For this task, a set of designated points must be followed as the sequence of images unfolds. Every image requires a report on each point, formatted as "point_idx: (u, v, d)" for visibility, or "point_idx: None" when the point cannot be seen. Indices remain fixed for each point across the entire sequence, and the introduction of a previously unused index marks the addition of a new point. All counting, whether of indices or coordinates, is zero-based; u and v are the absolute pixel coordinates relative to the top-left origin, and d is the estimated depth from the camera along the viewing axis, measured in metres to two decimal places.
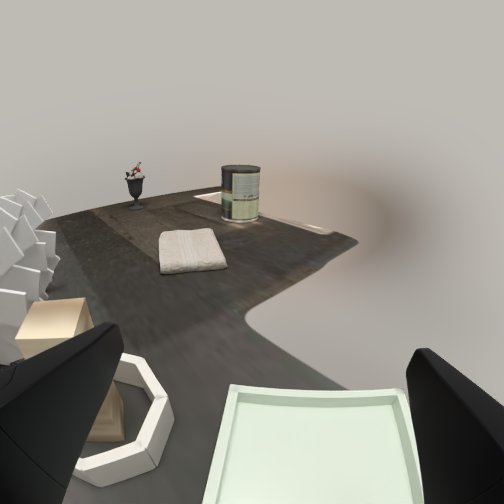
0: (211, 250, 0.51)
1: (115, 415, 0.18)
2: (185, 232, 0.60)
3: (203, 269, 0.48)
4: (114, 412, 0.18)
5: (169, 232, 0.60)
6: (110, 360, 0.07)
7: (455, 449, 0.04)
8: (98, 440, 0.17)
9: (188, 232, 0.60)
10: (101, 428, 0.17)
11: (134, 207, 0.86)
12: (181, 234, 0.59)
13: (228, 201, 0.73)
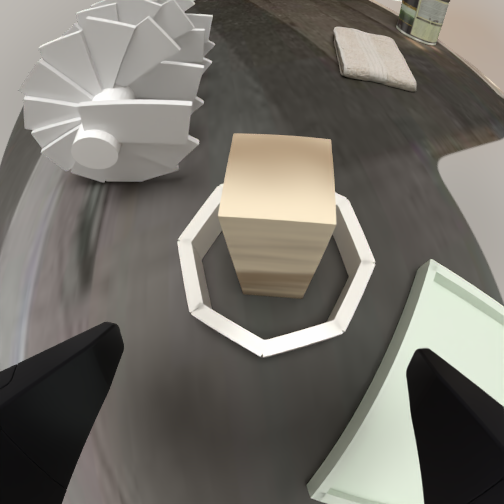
0: (401, 67, 0.31)
1: None
2: (364, 34, 0.36)
3: (391, 85, 0.31)
4: None
5: (344, 29, 0.36)
6: (110, 360, 0.07)
7: (455, 449, 0.04)
8: (271, 295, 0.21)
9: (367, 35, 0.36)
10: (285, 289, 0.20)
11: None
12: (360, 35, 0.35)
13: (410, 16, 0.36)
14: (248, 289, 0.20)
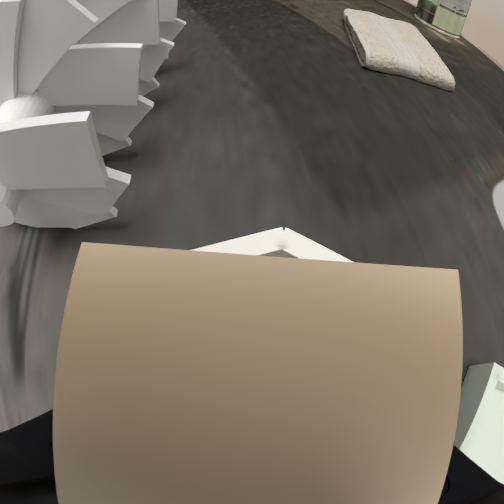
0: (434, 58, 0.21)
1: None
2: (380, 18, 0.26)
3: (425, 81, 0.22)
4: None
5: (357, 11, 0.27)
6: None
7: None
8: None
9: (385, 19, 0.26)
10: None
11: None
12: (376, 19, 0.26)
13: (432, 3, 0.26)
14: None
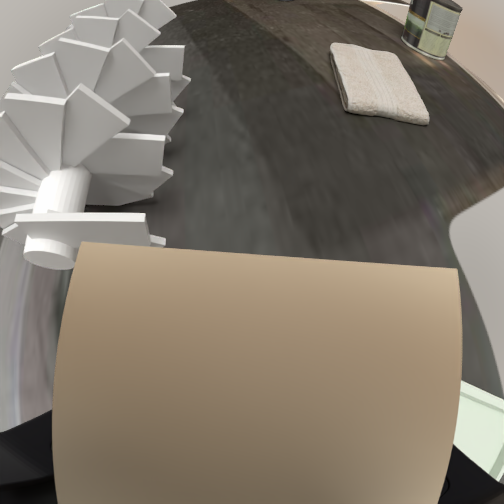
0: (411, 95, 0.28)
1: None
2: (364, 50, 0.33)
3: (401, 119, 0.28)
4: None
5: (342, 45, 0.33)
6: None
7: None
8: None
9: (368, 52, 0.33)
10: None
11: None
12: (360, 52, 0.32)
13: (418, 27, 0.33)
14: None
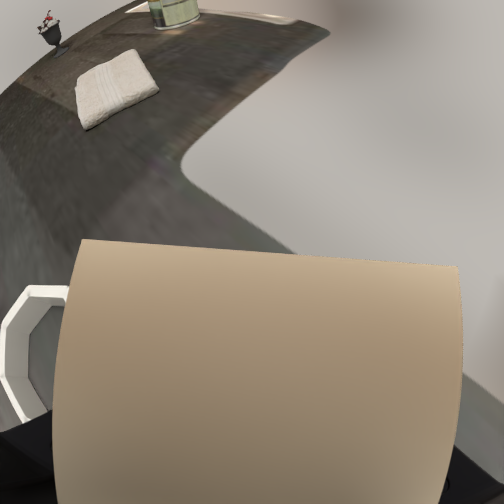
0: (136, 77, 0.32)
1: None
2: (104, 65, 0.35)
3: (132, 103, 0.32)
4: None
5: (86, 73, 0.35)
6: None
7: None
8: None
9: (107, 64, 0.35)
10: None
11: (58, 53, 0.47)
12: (99, 70, 0.35)
13: (157, 9, 0.38)
14: None
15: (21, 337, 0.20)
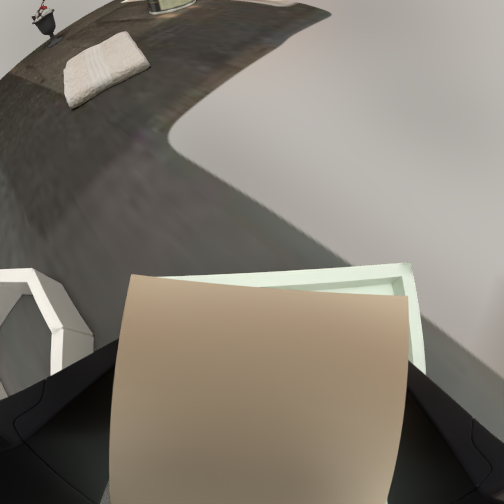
0: (126, 54, 0.28)
1: None
2: (94, 48, 0.31)
3: (120, 80, 0.28)
4: None
5: (75, 57, 0.31)
6: None
7: (416, 459, 0.04)
8: None
9: (98, 46, 0.31)
10: None
11: (52, 43, 0.43)
12: (89, 52, 0.31)
13: None
14: None
15: None
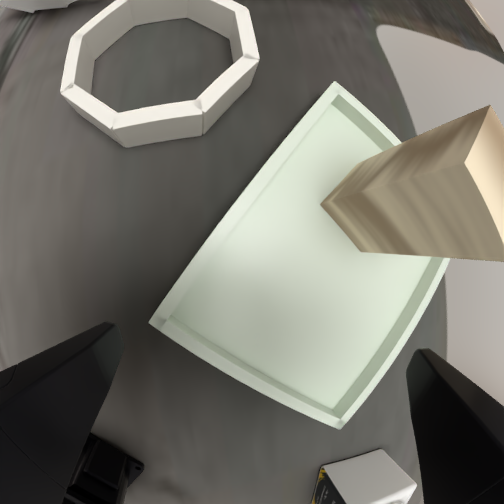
0: None
1: None
2: None
3: None
4: None
5: None
6: (110, 360, 0.07)
7: (455, 449, 0.04)
8: (342, 227, 0.18)
9: None
10: (366, 237, 0.17)
11: None
12: None
13: None
14: (334, 207, 0.17)
15: (128, 20, 0.15)
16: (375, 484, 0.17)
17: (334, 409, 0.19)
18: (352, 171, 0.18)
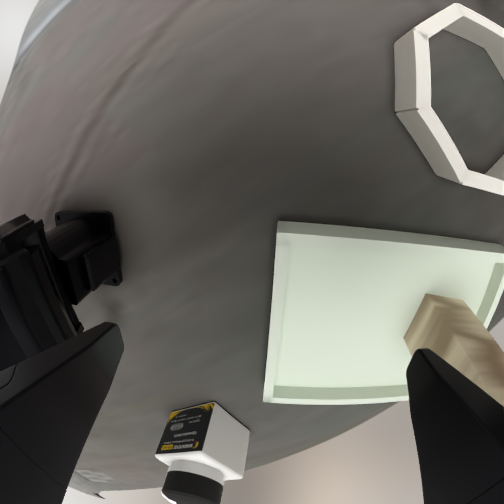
0: None
1: None
2: None
3: None
4: None
5: None
6: (110, 360, 0.07)
7: (455, 449, 0.04)
8: (416, 317, 0.20)
9: None
10: (419, 342, 0.18)
11: None
12: None
13: None
14: (430, 308, 0.18)
15: (487, 43, 0.11)
16: (227, 450, 0.24)
17: (274, 387, 0.24)
18: (457, 302, 0.19)
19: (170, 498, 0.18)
